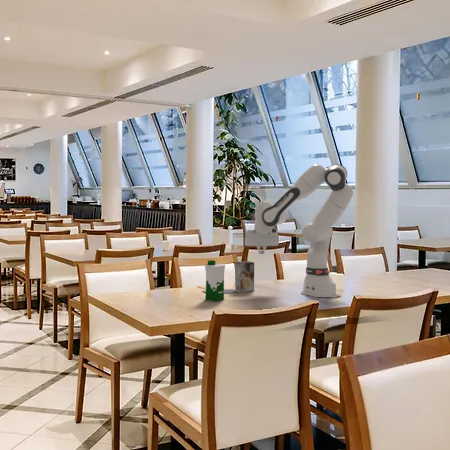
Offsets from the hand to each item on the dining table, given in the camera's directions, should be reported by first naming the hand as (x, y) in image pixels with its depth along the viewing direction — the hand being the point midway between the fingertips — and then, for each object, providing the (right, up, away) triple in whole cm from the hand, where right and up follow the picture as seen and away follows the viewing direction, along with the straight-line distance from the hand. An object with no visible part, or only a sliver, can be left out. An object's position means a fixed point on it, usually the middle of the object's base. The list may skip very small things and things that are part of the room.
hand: (261, 253), depth 329 cm
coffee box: (-10, -21, -3) cm, 23 cm away
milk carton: (-26, -22, -30) cm, 46 cm away
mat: (-23, -21, -8) cm, 32 cm away
